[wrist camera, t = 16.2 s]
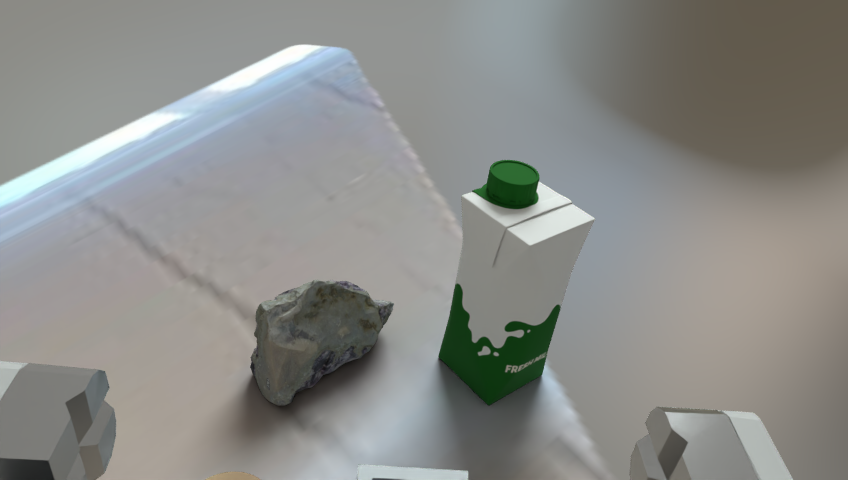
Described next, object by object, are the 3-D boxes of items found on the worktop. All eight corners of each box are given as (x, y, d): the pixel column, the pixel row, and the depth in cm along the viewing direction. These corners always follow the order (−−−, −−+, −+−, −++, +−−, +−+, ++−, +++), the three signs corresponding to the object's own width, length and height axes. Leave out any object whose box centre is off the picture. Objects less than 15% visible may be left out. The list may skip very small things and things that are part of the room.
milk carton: (491, 322, 70) (531, 147, 59) (556, 378, 65) (615, 198, 53) (424, 355, 65) (454, 170, 54) (488, 418, 60) (536, 229, 48)
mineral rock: (387, 323, 69) (396, 240, 63) (403, 407, 60) (415, 320, 54) (253, 327, 66) (250, 241, 60) (249, 415, 57) (245, 325, 52)
